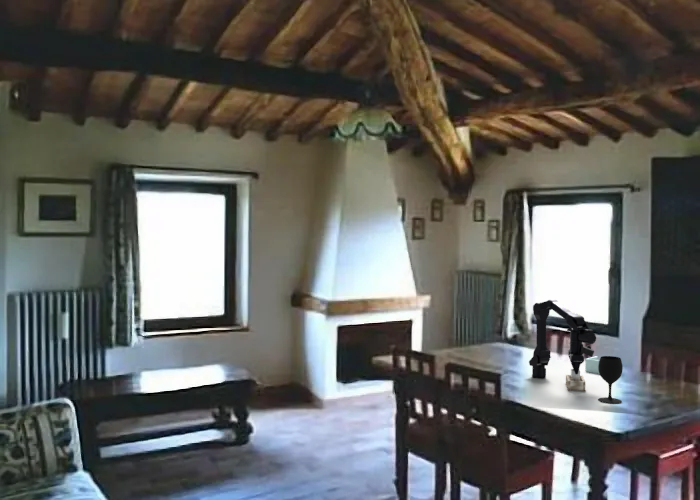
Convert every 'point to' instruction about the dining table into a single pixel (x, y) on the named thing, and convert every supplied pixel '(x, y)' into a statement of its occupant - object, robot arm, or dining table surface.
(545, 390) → the dining table surface
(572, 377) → the light grey rectangular block
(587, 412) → the dining table surface
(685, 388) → the dining table surface
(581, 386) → the beige tray
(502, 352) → the dining table surface
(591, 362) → the l-shaped corner panel
